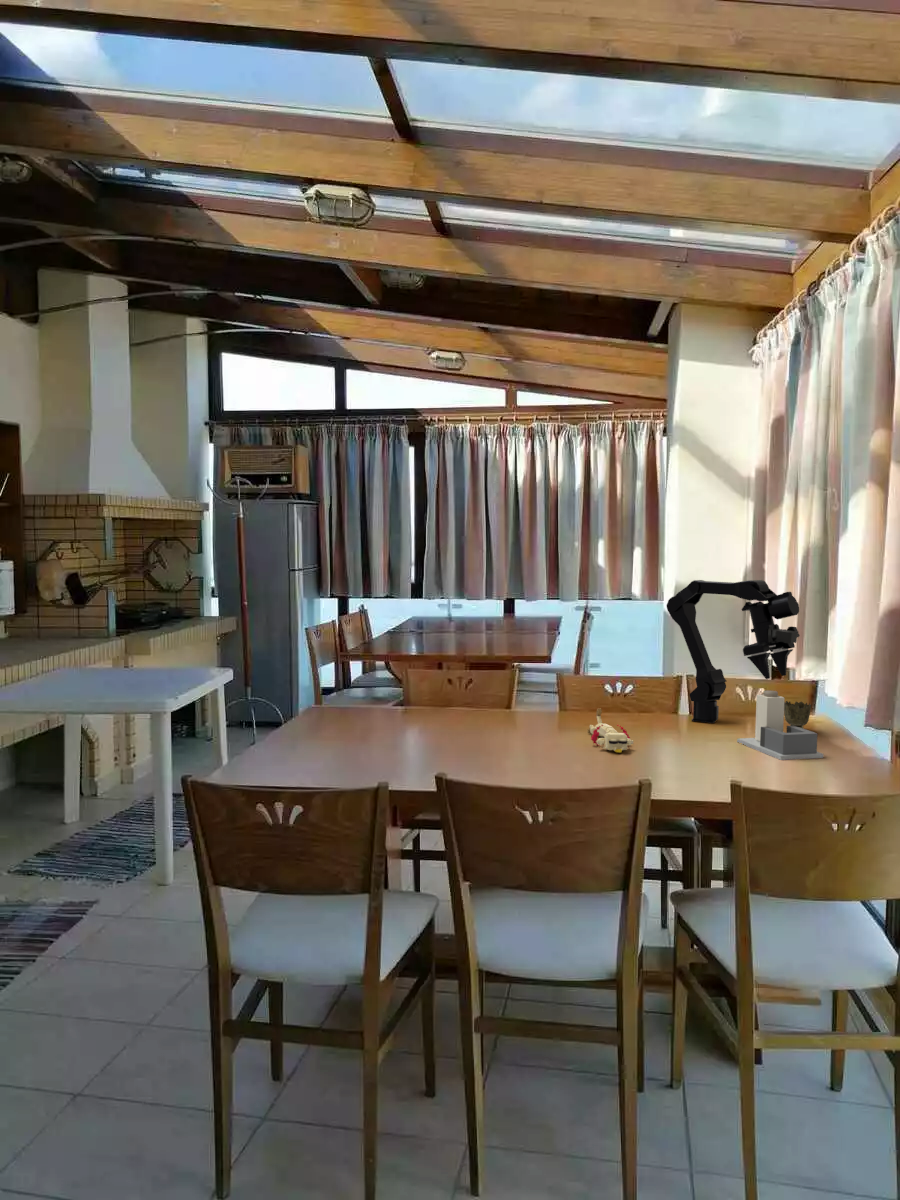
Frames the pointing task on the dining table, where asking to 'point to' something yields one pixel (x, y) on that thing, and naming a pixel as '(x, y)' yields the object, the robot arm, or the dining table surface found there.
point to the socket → (785, 743)
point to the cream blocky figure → (609, 735)
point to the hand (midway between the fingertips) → (776, 677)
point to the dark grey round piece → (797, 713)
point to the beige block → (769, 712)
